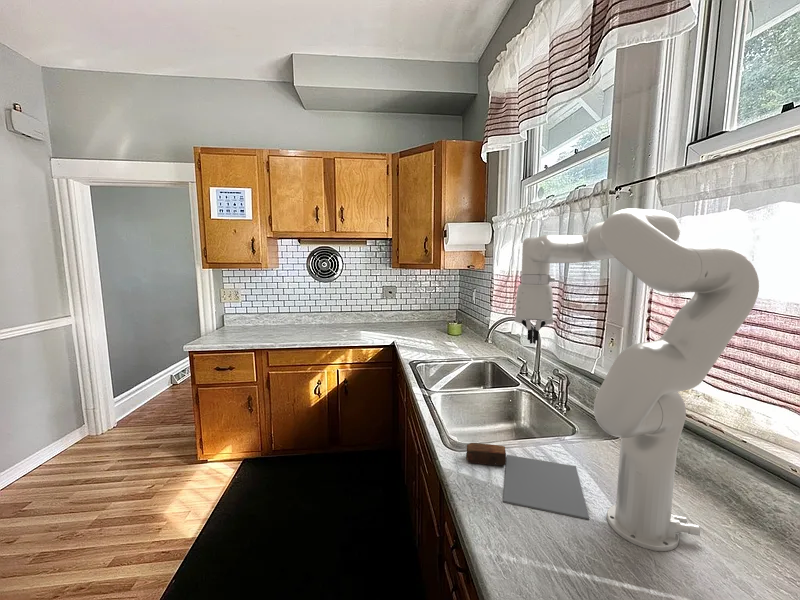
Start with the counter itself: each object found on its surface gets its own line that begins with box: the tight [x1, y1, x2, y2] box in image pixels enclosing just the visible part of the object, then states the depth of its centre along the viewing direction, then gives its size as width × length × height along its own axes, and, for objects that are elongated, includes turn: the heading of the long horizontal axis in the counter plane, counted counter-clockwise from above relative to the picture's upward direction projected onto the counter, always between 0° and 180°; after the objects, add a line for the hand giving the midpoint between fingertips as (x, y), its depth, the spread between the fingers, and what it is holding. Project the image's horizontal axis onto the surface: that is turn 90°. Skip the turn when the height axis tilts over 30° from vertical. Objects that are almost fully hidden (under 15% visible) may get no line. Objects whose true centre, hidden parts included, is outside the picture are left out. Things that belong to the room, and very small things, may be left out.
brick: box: [465, 442, 507, 467], centre depth 101 cm, size 11×4×5 cm
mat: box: [502, 454, 590, 521], centre depth 91 cm, size 18×21×1 cm
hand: (532, 342), depth 106 cm, fingers closed
